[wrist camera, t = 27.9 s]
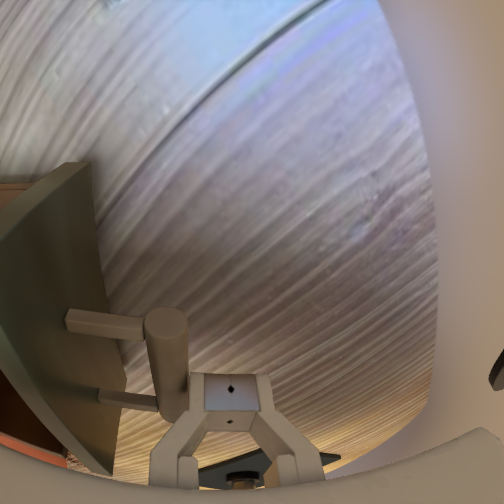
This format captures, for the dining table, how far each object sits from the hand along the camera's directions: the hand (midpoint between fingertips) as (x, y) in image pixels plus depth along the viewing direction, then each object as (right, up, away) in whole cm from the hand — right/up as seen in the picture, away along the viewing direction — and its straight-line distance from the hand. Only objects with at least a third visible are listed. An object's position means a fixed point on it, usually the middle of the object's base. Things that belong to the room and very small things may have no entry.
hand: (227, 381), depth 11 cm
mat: (+1, -25, +22) cm, 33 cm away
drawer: (-11, +3, +2) cm, 11 cm away
